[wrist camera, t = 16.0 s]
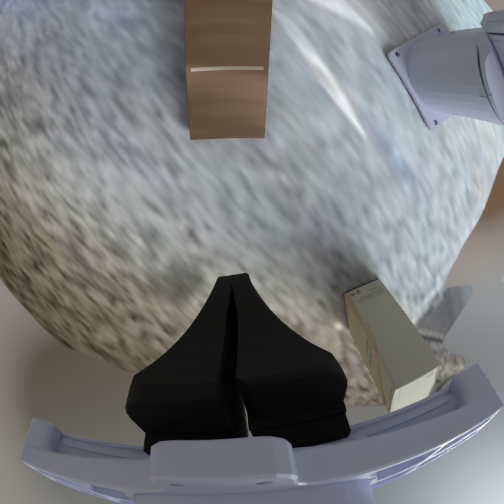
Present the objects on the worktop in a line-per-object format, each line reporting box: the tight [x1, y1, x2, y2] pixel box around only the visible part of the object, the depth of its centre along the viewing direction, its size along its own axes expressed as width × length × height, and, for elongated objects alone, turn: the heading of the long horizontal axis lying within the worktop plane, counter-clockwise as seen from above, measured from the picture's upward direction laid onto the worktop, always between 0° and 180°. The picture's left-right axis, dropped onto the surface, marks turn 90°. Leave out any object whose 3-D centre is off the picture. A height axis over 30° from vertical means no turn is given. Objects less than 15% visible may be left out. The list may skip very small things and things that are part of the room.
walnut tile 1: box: [185, 0, 272, 140], centre depth 14 cm, size 2×5×10 cm
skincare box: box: [344, 279, 440, 413], centre depth 22 cm, size 6×4×12 cm
